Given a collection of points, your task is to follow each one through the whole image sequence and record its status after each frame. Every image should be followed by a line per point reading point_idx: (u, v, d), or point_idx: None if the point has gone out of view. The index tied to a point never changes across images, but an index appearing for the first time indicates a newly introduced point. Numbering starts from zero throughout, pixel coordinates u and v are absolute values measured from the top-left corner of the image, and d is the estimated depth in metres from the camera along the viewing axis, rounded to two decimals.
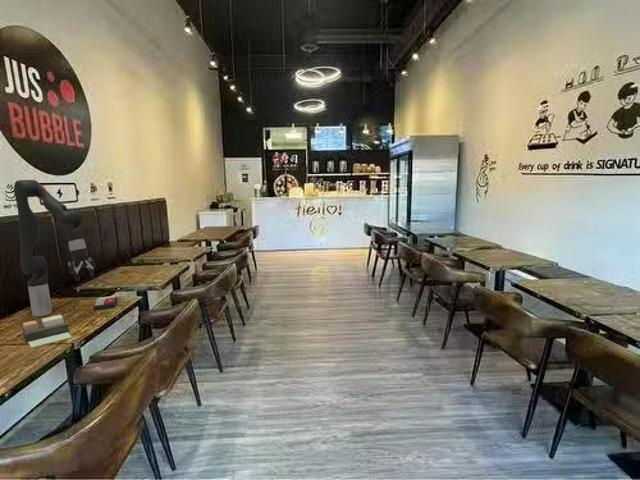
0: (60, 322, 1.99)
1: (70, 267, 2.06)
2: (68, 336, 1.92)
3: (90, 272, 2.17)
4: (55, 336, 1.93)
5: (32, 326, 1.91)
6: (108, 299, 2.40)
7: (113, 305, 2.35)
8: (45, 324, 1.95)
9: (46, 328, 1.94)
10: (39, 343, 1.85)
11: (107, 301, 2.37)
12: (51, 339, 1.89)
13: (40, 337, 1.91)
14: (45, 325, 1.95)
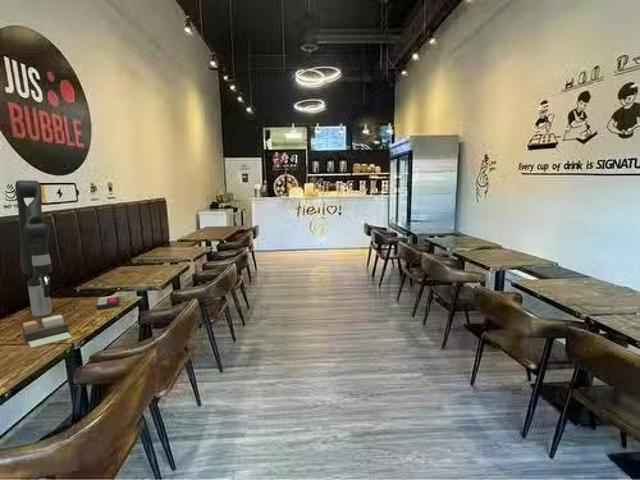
0: (60, 322, 1.99)
1: None
2: (68, 336, 1.92)
3: None
4: (55, 336, 1.93)
5: (32, 326, 1.91)
6: (110, 299, 2.41)
7: (116, 304, 2.36)
8: (45, 324, 1.95)
9: (46, 328, 1.94)
10: (39, 343, 1.85)
11: (109, 300, 2.38)
12: (51, 339, 1.89)
13: (40, 337, 1.91)
14: (45, 325, 1.95)
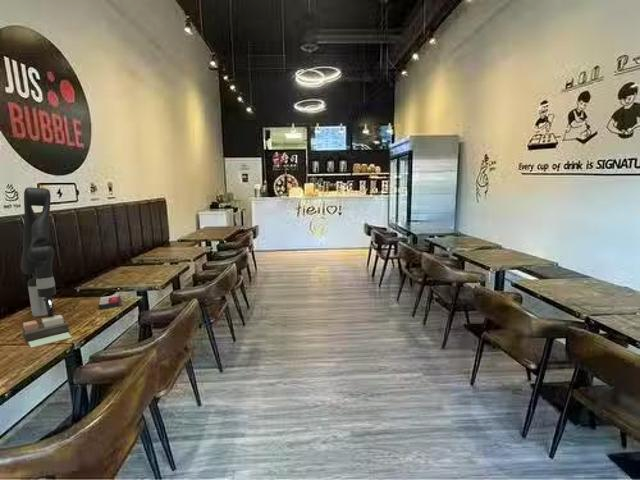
0: (60, 322, 1.99)
1: None
2: (68, 336, 1.92)
3: None
4: (55, 336, 1.93)
5: (32, 326, 1.91)
6: (112, 298, 2.42)
7: (118, 304, 2.36)
8: (45, 324, 1.95)
9: (46, 328, 1.94)
10: (39, 343, 1.85)
11: (111, 300, 2.38)
12: (51, 339, 1.89)
13: (40, 337, 1.91)
14: (45, 325, 1.95)
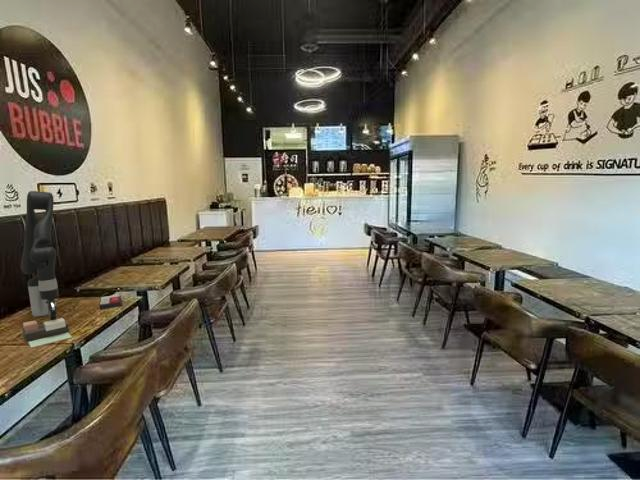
0: (62, 325, 1.94)
1: None
2: (68, 336, 1.92)
3: None
4: (55, 336, 1.93)
5: (32, 326, 1.91)
6: (112, 298, 2.42)
7: (118, 304, 2.37)
8: (47, 328, 1.90)
9: None
10: (39, 343, 1.85)
11: (112, 300, 2.39)
12: (51, 339, 1.89)
13: (40, 337, 1.91)
14: (47, 329, 1.90)
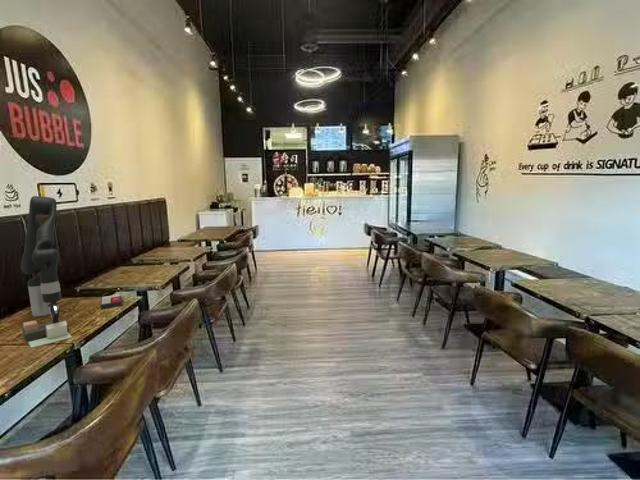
0: None
1: None
2: (68, 336, 1.92)
3: None
4: None
5: (32, 326, 1.91)
6: (114, 298, 2.43)
7: (120, 303, 2.37)
8: None
9: None
10: (39, 343, 1.85)
11: (113, 300, 2.39)
12: (51, 339, 1.89)
13: (40, 337, 1.91)
14: None
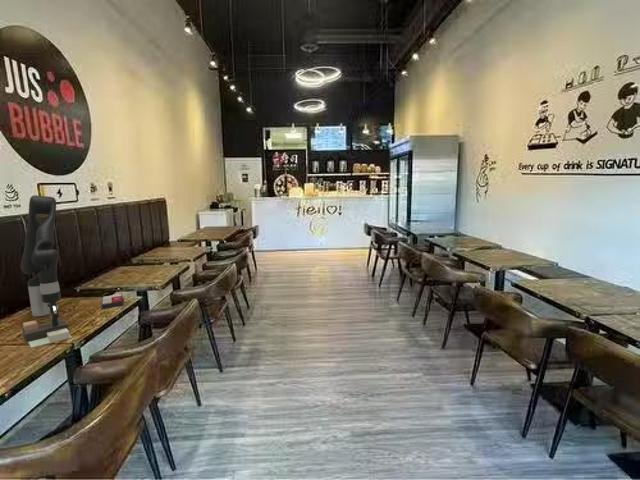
0: None
1: None
2: None
3: None
4: None
5: (32, 326, 1.91)
6: (114, 297, 2.43)
7: (121, 303, 2.38)
8: None
9: (46, 328, 1.94)
10: (39, 343, 1.85)
11: (114, 299, 2.40)
12: None
13: (40, 337, 1.91)
14: None
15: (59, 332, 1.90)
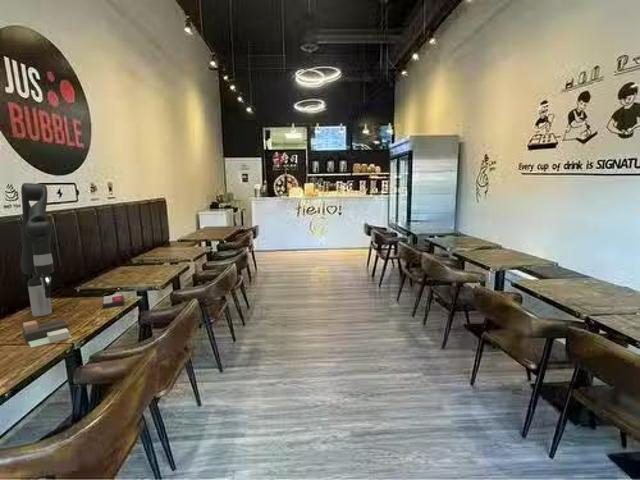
0: None
1: None
2: None
3: None
4: None
5: (32, 326, 1.91)
6: (115, 297, 2.43)
7: (122, 303, 2.38)
8: None
9: (46, 328, 1.94)
10: (39, 343, 1.85)
11: (115, 299, 2.40)
12: None
13: (40, 337, 1.91)
14: None
15: (59, 332, 1.90)
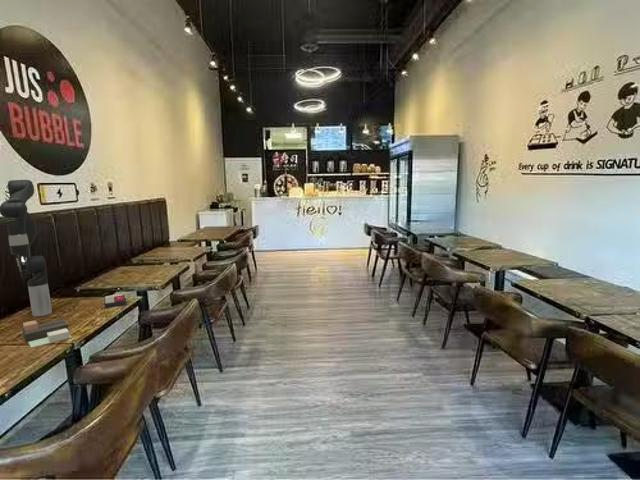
0: None
1: None
2: None
3: None
4: None
5: (32, 326, 1.91)
6: (117, 297, 2.44)
7: (124, 302, 2.39)
8: None
9: (46, 328, 1.94)
10: (39, 343, 1.85)
11: (117, 299, 2.41)
12: None
13: (40, 337, 1.91)
14: None
15: (59, 332, 1.90)
